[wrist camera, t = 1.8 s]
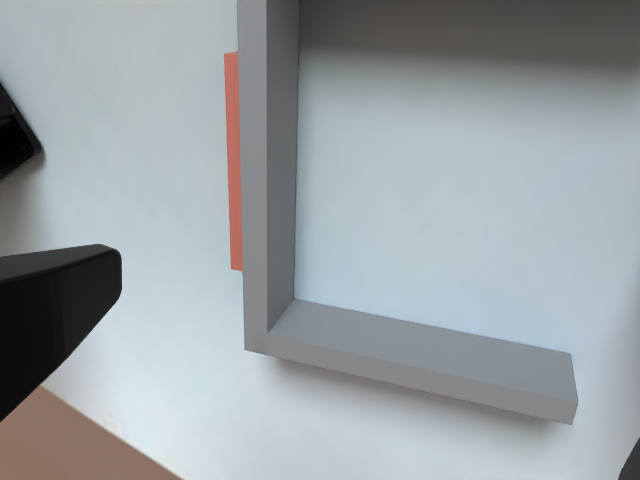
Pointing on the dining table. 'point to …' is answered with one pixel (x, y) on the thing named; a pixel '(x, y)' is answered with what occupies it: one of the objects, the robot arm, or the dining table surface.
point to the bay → (279, 248)
